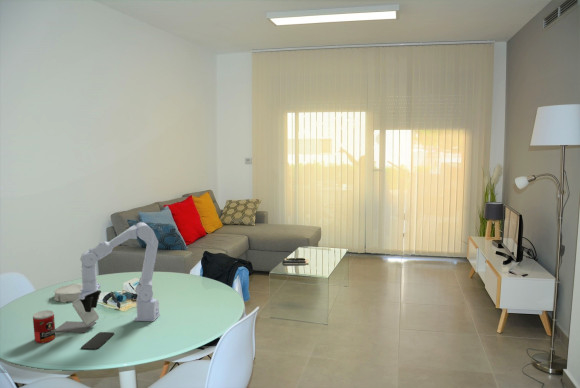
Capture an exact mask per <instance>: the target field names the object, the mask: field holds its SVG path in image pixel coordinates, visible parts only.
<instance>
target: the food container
mask: <svg viewBox="0 0 580 388" xmlns="http://www.w3.org/2000/svg"><path fill="white" fill-rule="evenodd" d="M82 288H83V286H82V283H72V284H67V285H64V286H63V285H62V286H59V287H58V288H56V289H55V290H54V297H53V299H54V301H55V302H60V303H67V302H74V301H76V300H77V299H79V295H80V293H81V292H82V291H80V289H82Z"/></svg>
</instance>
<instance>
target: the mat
mask: <svg viewBox="0 0 580 388" xmlns="http://www.w3.org/2000/svg"><path fill="white" fill-rule="evenodd" d="M95 324H97V322H96V321H95V322H93V323H92V324H90V325H88V326H87V327H86V325H85V324H84V322H83V321H74V320H73V321H68V320H67V321H65V322H63V323H62V324H61V325H59V326H58V327H57V328H56V327H55V333H78V334H79V333H80V334H81V333H86V332H87V331H88V330H90V329H91V328H92V327H94V325H95Z"/></svg>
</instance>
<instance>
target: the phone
mask: <svg viewBox="0 0 580 388" xmlns="http://www.w3.org/2000/svg"><path fill="white" fill-rule="evenodd" d="M113 336H115V332H109V331H106V332H105V331H99V332H98V333H96V334H95V335H94V336H92V337H91V338H90V339H89V340H87V341H86V343H84V344H83V345H82V346H81V347H80V350H88V351H89V350H90V351H91V350H92V351H93V350H94V351H95V350H97V351H98V350H99V349H100V348H102V347H103V346H104V345H105V344H106V343H107V342H108V341H109V340H110V339H111V338H113Z"/></svg>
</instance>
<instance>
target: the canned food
mask: <svg viewBox="0 0 580 388" xmlns="http://www.w3.org/2000/svg"><path fill="white" fill-rule="evenodd" d="M32 324H33V325H32V326H33V334H34V340H35V342H36V343H37V344H44V343H45V344H46V343H49V342H52V341H53V340H55V338H56V332H55V329H56V326H55V325H56V321H55V313H54V310H39V311H38V312H35V313H33V314H32Z"/></svg>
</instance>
